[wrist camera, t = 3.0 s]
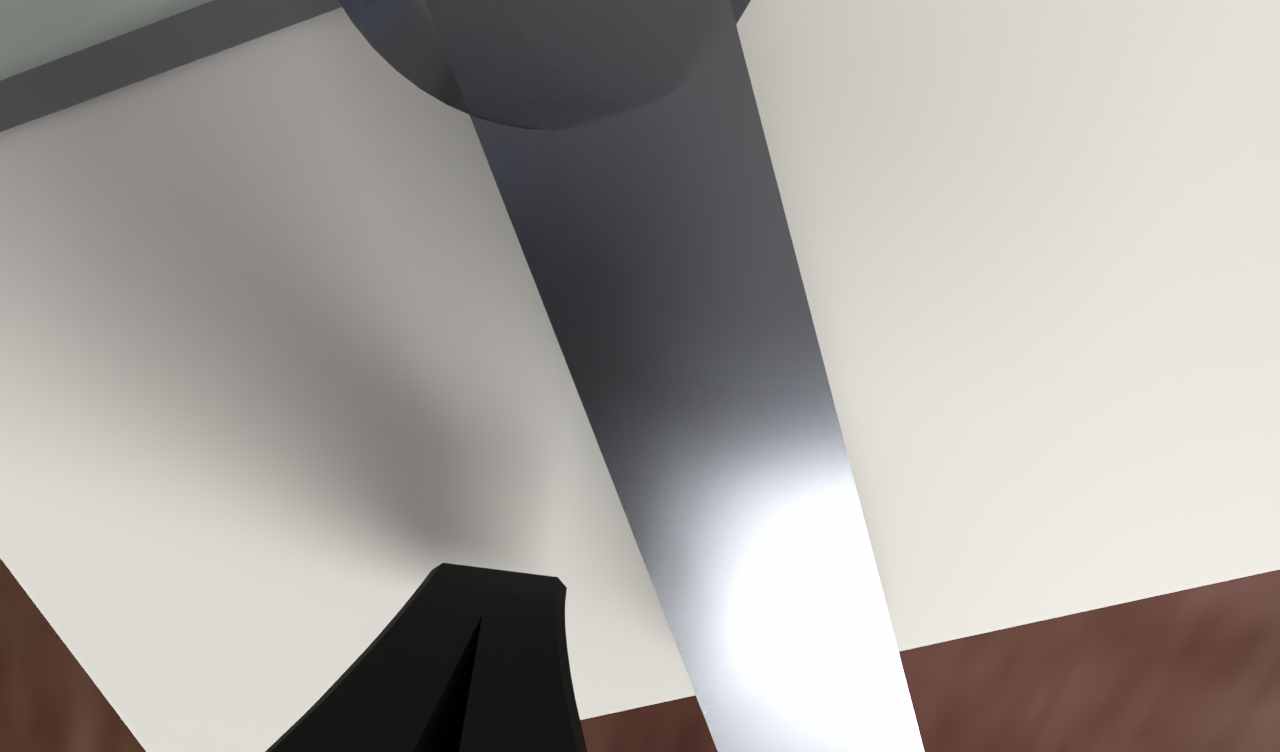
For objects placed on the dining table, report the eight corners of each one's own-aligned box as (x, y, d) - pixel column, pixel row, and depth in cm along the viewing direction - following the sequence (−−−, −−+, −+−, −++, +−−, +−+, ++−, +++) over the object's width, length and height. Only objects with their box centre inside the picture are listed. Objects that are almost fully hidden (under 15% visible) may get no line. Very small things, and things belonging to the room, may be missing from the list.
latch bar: (278, -269, 7) (201, -312, 6) (699, -449, 6) (704, -534, 5) (690, 746, 11) (692, 835, 10) (959, 690, 10) (992, 778, 9)
